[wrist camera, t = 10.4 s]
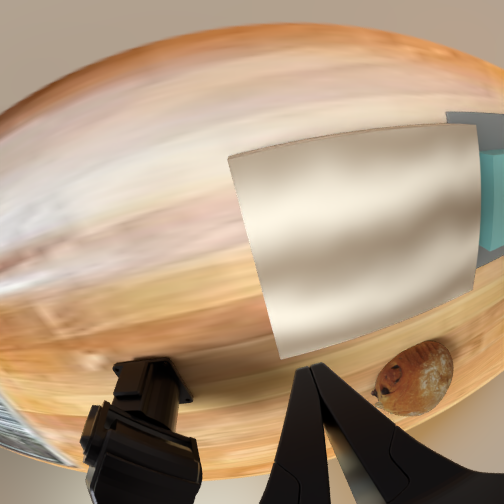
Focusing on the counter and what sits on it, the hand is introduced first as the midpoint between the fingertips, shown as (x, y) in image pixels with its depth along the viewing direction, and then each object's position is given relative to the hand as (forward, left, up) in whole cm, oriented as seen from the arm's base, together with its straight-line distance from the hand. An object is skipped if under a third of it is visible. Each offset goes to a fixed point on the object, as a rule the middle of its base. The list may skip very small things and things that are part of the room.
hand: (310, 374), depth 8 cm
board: (-1, -8, -13) cm, 15 cm away
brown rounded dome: (-21, -13, -13) cm, 28 cm away
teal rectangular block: (-1, -23, -10) cm, 26 cm away
